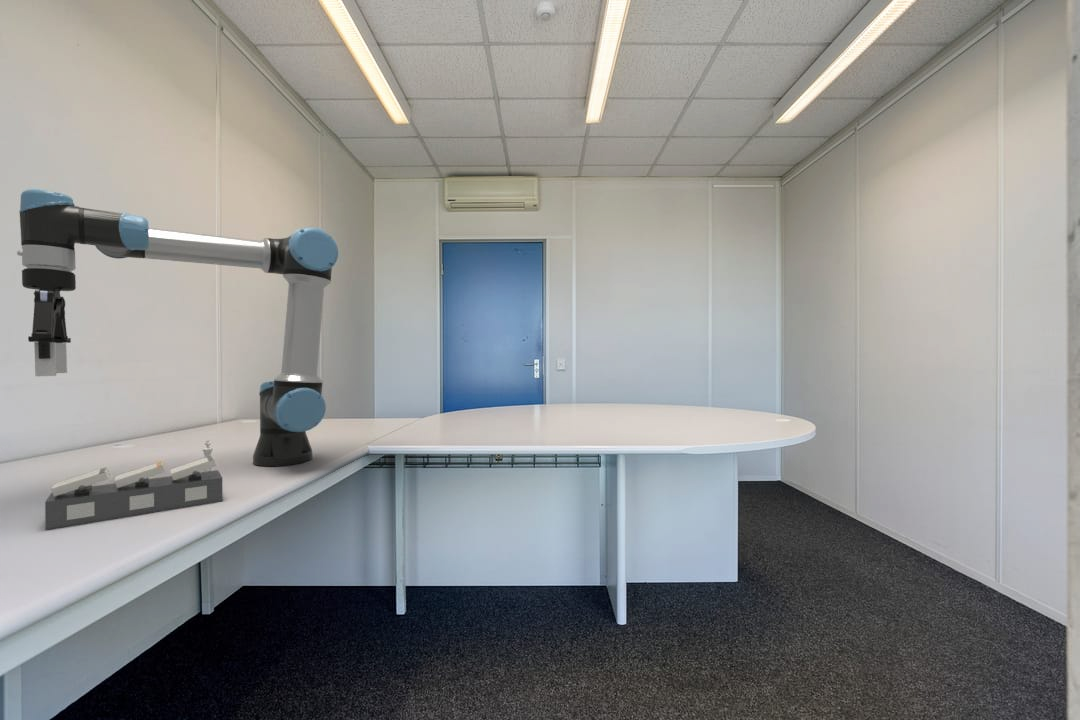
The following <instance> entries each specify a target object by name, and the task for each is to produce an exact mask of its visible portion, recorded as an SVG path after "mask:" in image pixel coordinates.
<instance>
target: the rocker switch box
mask: <svg viewBox="0 0 1080 720" xmlns="http://www.w3.org/2000/svg"><path fill="white" fill-rule="evenodd" d="M219 501H220V502H223V476H222V475H221V472H220V471H219V470H218V469H217V470H211V471H207V472H204V471H200V472H198V474H197V475H193V474H191V475H188V476H186V477H183V478H180V479H177V480H174V481H173V478H172V476H171V475H169V476H162V477H161V476H160V477H155V478H154V477H153V478H152V477H151V478H150V477H149V478H146V479H145V481H144V482H139V481H137V482H134V483H131V484H128V485H125V486H122V487H119V488H117V486H116V484H115V482H114V483H106V484H99V485H93V484H92V485H89V486H86V487H85V489H84V490H79V489H76V490H73V491H70V492H67V493H64V494H61V495H57V496H54V495H53V493H52V492H51V493H50V494H49V496H48V498H47V499H46V500H45V501H44V502H45V503H44V504H45V505H44V507H45V509H44V510H45V511H44V512H45V520H44V521H45V523H44V524H45V531H47V530H55V529H60V528H66V527H67V528H68V527H72V526H80V525H85V524H86V525H87V524H91V523H97V522H103V521H109V520H115V519H121V518H129V517H132V516H133V517H134V516H138V515H139V516H140V515H145V514H153V513H158V512H165V511H170V510H178V509H183V508H189V507H194V506H195V505H196V506H200V505H201V506H202V505H206V504H214V503H218V502H219Z"/></svg>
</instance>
